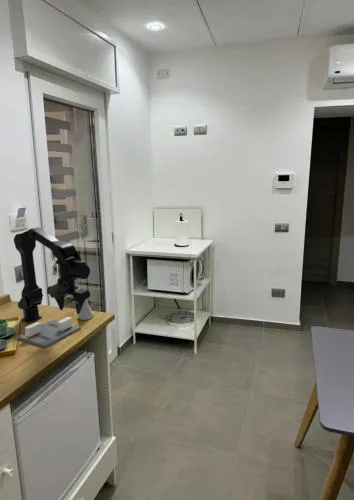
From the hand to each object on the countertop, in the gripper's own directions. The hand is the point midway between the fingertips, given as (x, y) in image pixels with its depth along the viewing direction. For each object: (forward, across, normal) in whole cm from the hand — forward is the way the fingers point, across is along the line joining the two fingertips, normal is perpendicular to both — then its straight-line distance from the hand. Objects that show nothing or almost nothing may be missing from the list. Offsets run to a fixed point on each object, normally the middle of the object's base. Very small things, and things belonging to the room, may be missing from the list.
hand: (69, 311), depth 149 cm
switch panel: (+9, -7, -5) cm, 13 cm away
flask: (+9, -6, +15) cm, 19 cm away
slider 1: (+8, -11, -10) cm, 16 cm away
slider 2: (+8, -3, 0) cm, 8 cm away
